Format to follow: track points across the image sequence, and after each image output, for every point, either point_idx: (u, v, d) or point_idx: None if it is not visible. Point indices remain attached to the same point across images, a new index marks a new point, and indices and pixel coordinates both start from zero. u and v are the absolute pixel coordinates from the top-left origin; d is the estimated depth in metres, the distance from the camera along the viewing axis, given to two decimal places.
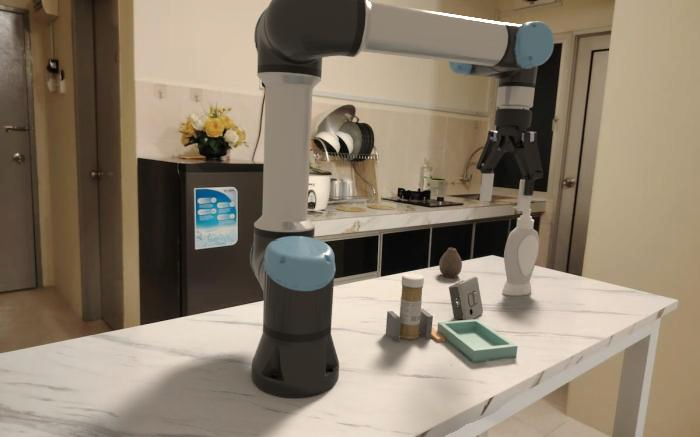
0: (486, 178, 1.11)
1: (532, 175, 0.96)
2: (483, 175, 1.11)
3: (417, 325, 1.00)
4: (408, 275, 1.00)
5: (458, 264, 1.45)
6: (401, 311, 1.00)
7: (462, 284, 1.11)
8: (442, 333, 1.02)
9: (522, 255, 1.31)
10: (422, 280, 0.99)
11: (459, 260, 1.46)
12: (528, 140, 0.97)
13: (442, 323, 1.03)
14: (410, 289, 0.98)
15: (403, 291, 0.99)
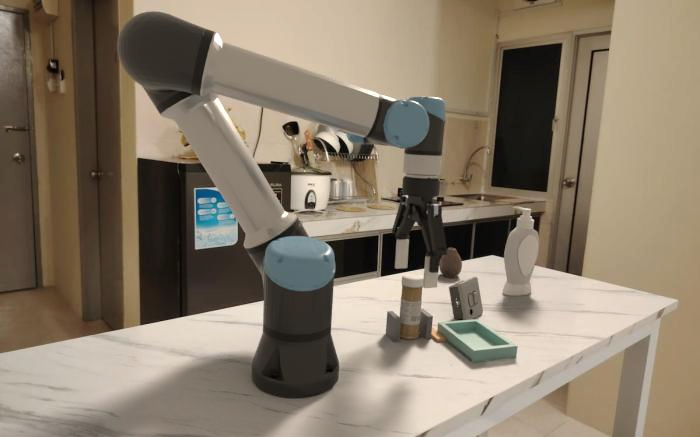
0: (400, 244, 1.05)
1: (434, 253, 0.89)
2: (397, 241, 1.05)
3: (417, 325, 1.00)
4: (408, 275, 1.00)
5: (458, 264, 1.45)
6: (401, 311, 1.00)
7: (462, 284, 1.11)
8: (442, 333, 1.02)
9: (522, 255, 1.31)
10: (422, 280, 0.99)
11: (459, 260, 1.46)
12: (431, 214, 0.90)
13: (442, 323, 1.03)
14: (410, 289, 0.98)
15: (403, 291, 0.99)
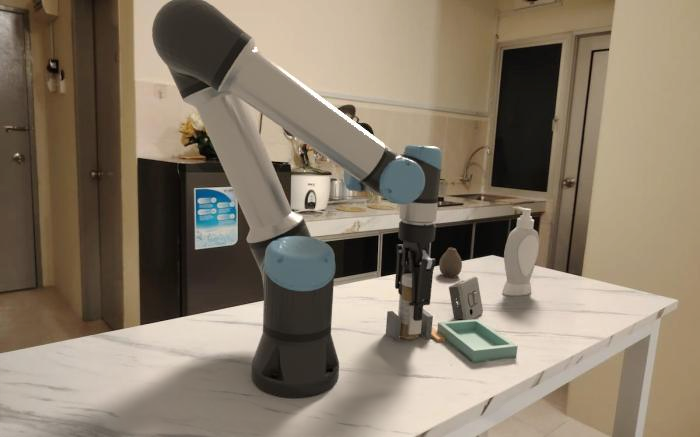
0: None
1: (418, 304, 0.95)
2: (400, 298, 1.03)
3: None
4: (408, 275, 1.00)
5: (458, 264, 1.45)
6: (401, 311, 1.00)
7: (462, 284, 1.11)
8: (442, 333, 1.02)
9: (522, 255, 1.31)
10: None
11: (459, 260, 1.46)
12: (424, 269, 0.93)
13: (442, 323, 1.03)
14: (410, 289, 0.98)
15: (403, 291, 0.99)
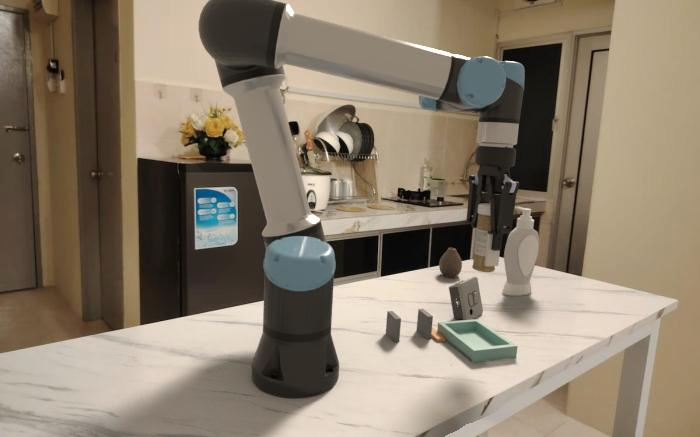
0: None
1: (499, 231, 0.90)
2: (474, 230, 0.97)
3: None
4: (485, 204, 0.94)
5: (458, 264, 1.45)
6: (477, 242, 0.95)
7: (462, 284, 1.11)
8: (442, 333, 1.02)
9: (522, 255, 1.31)
10: None
11: (459, 260, 1.46)
12: (507, 192, 0.88)
13: (442, 323, 1.03)
14: (489, 217, 0.93)
15: (480, 221, 0.94)
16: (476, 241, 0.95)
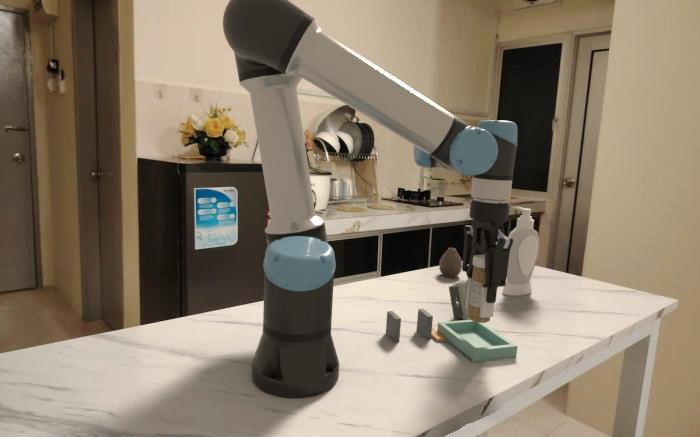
0: None
1: (493, 285, 0.91)
2: (469, 280, 0.99)
3: None
4: (480, 256, 0.96)
5: (458, 264, 1.45)
6: (472, 293, 0.97)
7: (462, 284, 1.11)
8: (442, 333, 1.02)
9: (522, 255, 1.31)
10: None
11: (459, 260, 1.46)
12: (501, 248, 0.90)
13: (442, 323, 1.03)
14: (483, 270, 0.95)
15: (475, 273, 0.96)
16: (471, 292, 0.97)
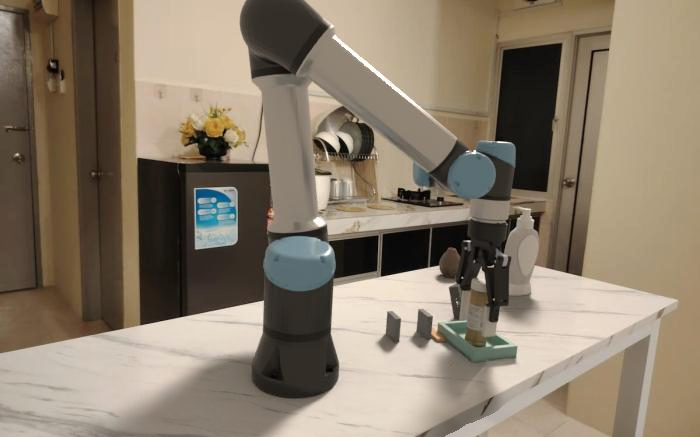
0: (466, 296, 1.01)
1: (496, 305, 0.90)
2: (463, 293, 1.01)
3: None
4: (478, 279, 0.97)
5: (458, 264, 1.45)
6: (470, 316, 0.98)
7: None
8: (442, 333, 1.02)
9: (522, 255, 1.31)
10: None
11: (459, 260, 1.46)
12: (500, 266, 0.90)
13: (442, 323, 1.03)
14: (481, 294, 0.96)
15: (473, 296, 0.97)
16: (469, 315, 0.98)
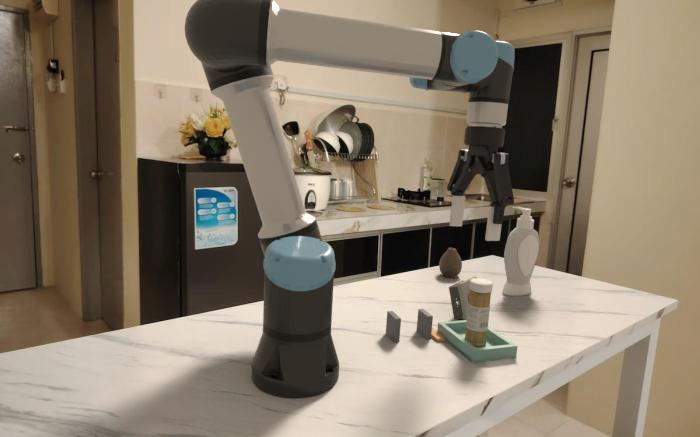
0: (456, 201, 1.01)
1: (501, 202, 0.85)
2: (453, 197, 1.01)
3: (485, 332, 0.97)
4: (476, 280, 0.97)
5: (458, 264, 1.45)
6: (469, 317, 0.98)
7: (462, 284, 1.11)
8: (442, 333, 1.02)
9: (522, 255, 1.31)
10: (491, 285, 0.96)
11: (459, 260, 1.46)
12: (498, 162, 0.87)
13: (442, 323, 1.03)
14: (480, 294, 0.95)
15: (471, 297, 0.97)
16: (468, 316, 0.98)
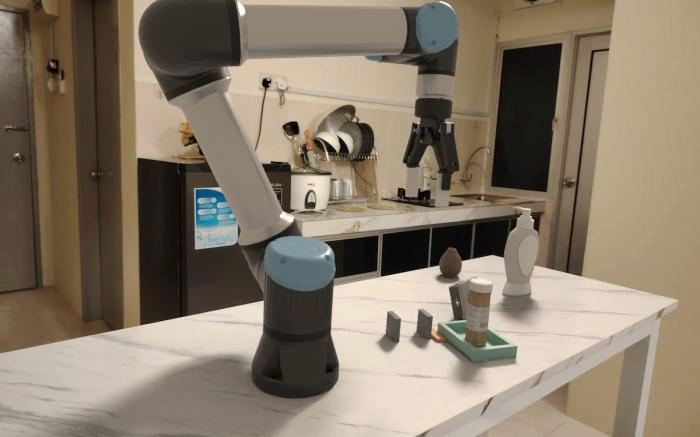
0: (411, 172, 1.06)
1: (447, 168, 0.90)
2: (408, 169, 1.06)
3: (485, 332, 0.97)
4: (476, 280, 0.97)
5: (458, 264, 1.45)
6: (469, 317, 0.98)
7: (462, 284, 1.11)
8: (442, 333, 1.02)
9: (522, 255, 1.31)
10: (491, 285, 0.96)
11: (459, 260, 1.46)
12: (444, 131, 0.91)
13: (442, 323, 1.03)
14: (480, 294, 0.95)
15: (471, 297, 0.97)
16: (468, 316, 0.98)
